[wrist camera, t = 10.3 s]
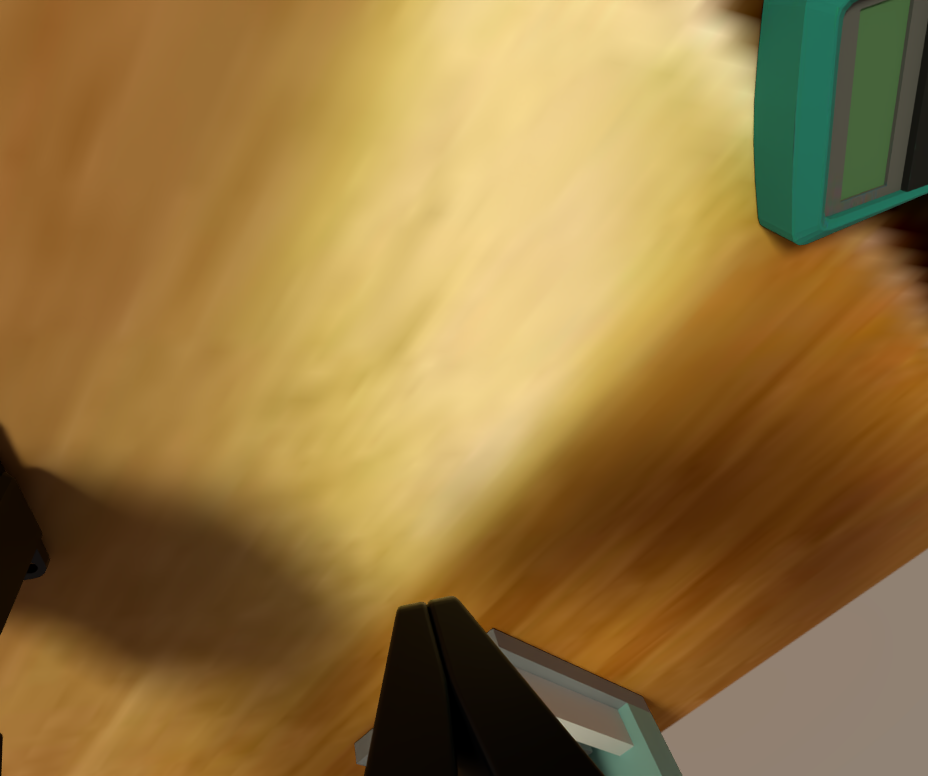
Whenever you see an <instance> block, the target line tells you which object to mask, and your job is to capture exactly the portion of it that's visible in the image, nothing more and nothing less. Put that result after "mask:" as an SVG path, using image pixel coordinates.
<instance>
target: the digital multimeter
mask: <svg viewBox="0 0 928 776" xmlns="http://www.w3.org/2000/svg"><path fill="white" fill-rule="evenodd" d="M754 160H755V182H756V194H757V207H758V218H759V222H760V224H761V225H762V226H764V227H765V228H767V229H769V230H771V231H773V232H775V233H776V234H778V235H780V236H782V237H784V238H786V239H788V240H790V241H792V242H794V243H796V244H798V245H805V244H808V243H811V242H813V241H815V240H818V239H820V238H822V237H825V236H827V235H830V234H832V233H834V232H837V231H839V230H841V229H844V228H846V227H848V226H851V225H853V224H856V223H858V222H860V221H863V220H865V219H867V218H870V217H872V216H874V215H877V214H879V213H882V212H884V211H886V210H889V209H891V208H893V207H896V206H898V205H900V204H903V203H905V202H908V201H910V200H912V199H915V198H917V197H920V196H922V195H925V194H927V193H928V0H764V4H763V13H762V22H761V32H760V41H759V51H758V62H757V75H756V88H755V103H754Z"/></svg>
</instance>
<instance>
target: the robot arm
mask: <svg viewBox="0 0 928 776" xmlns="http://www.w3.org/2000/svg"><path fill="white" fill-rule="evenodd" d="M41 537H42V531H41V529H40V527H39V525H38V523H37V521H36V519H35V518H34V516H33V514H32V512H31V510H30V508H29V506H28V504H27V502H26V500H25V498H24V496H23V494H22V492H21V490H20V488H19V486H18V484H17V482H16V480H15V478H14V477H12V476H11V475H10V474H9V473H7V472H6V471H5V469H4V467H3V465H2V463H1V461H0V635H1V633H2V630H3V628H4V625H5V623H6V621H7V618H8V616H9V613H10V611H11V609H12V606H13V604H14V602H15V599H16V597H17V594H18V592H19V590H20V587H21V585H22V582H23V580H27V579H33V578H37V577H40V576H42V575H43V574H44V573H45V571H46V569H47V567H48V564H49V561H50V558H49V555H48V553H47V551H46V549H45V547H44V545H43V543H42V541H41ZM30 563H33V564H30ZM2 741H3V736H2V734H1V733H0V776H1V769H2ZM364 776H605V775H604V774H603V773H602V772H601V771H600V769H599V768H598V767H597V766H596V765H595V763H594V762H593V761H592V760H591V759H590V757H589V756H588V755H587V754H586V753H585V751H584V750H583V749H582V748H581V747H580V745H579V744H578V743H577V742H576V740H575V739H574V738H573V737H572V736H571V734H570V733H569V732H568V731H567V730H566V728H565V727H564V726H563V725H562V724H561V722H560V721H559V720H558V719H557V718H556V716H555V715H554V714H553V713H552V712H551V710H550V709H549V708H548V707H547V705H546V704H545V703H544V702H543V701H542V699H541V698H540V697H539V696H538V695H537V693H536V692H535V691H534V690H533V689H532V687H531V686H530V685H529V684H528V683H527V681H526V680H525V679H524V678H523V677H522V675H521V674H520V673H519V672H518V670H517V669H516V668H515V667H514V666H513V664H512V663H511V662H510V661H509V660H508V658H507V657H506V656H505V655H504V654H503V652H502V651H501V650H500V649H499V648H498V646H497V645H496V644H495V643H494V642H493V640H492V639H491V638H490V637H489V635H488V634H487V633H486V632H485V631H484V629H483V628H482V627H481V626H480V625H479V623H478V622H477V621H476V620H475V619H474V617H473V616H472V615H471V614H470V613H469V611H468V610H467V609H466V608H465V607H464V605H463V604H462V603H461V602H460V601H459V600H458V599H457V598H456V597H454V596H449V597H444V598H439V599H433V600H430V601H429V602H428V604H427V605H426V604H425V603H424V602H418V603H413V604H408V605H403V606H400V607H399V608H398V610H397V612H396V617H395V622H394V627H393V632H392V637H391V642H390V647H389V652H388V657H387V663H386V668H385V673H384V678H383V683H382V688H381V693H380V698H379V703H378V708H377V713H376V718H375V723H374V728H373V733H372V738H371V743H370V748H369V753H368V758H367V764H366V769H365V774H364Z"/></svg>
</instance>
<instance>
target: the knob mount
mask: <svg viewBox="0 0 928 776" xmlns="http://www.w3.org/2000/svg"><path fill="white" fill-rule="evenodd" d="M487 634H488V635H489V637H490V638H491V639H492V640H493V642H494V643H495V644H496V645H497V646H498V648H499V649H500V650H501V651H502V652H503V654H504V655H505V656H506V657H507V658H508V660H509V661H510V662H511V663H512V664H513V666H514V667H515V668H516V669H517V670H518V672H519V673H520V674H521V675H522V677H523V678H524V679H525V680H526V681H527V683H528V684H529V685H530V686H531V687H532V689H533V690H534V691H535V692H536V693H537V695H538V696H539V697H540V698H541V699H542V701H543V702H544V703H545V704H546V705H547V707H548V708H549V709H550V710H551V712H552V713H553V714H554V715H555V716H556V718H557V719H558V720H559V721H560V722H561V724H562V725H563V726H564V727H565V728H566V730H567V731H568V732H569V733H570V734H571V736H572V737H573V738H574V739H575V740H576V741H578V742H581V743H584V744H587V745H589V746H591V749H592V751H593V752H592V753H591V754H589V755H588V756H589V757H590V759H591V760H592V761H593V762H594V763H595V765H596V766H597V767H598V768H599V769H600V771H601V772H602V773H603V774H604V775H605V776H682V774H681V772H680V770H679V768H678V766H677V764H676V762H675V760H674V758H673V756H672V754H671V752H670V750H669V748H668V746H667V744H666V742H665V740H664V738H663V736H662V734H661V732H660V730H659V728H658V726H657V724H656V722H655V720H654V718H653V716H652V714H651V712H650V710H649V708H648V706H647V704H646V702H645V701H644V699H643V697H642V696H640V695H638V694H636V693H633V692H631V691H629V690H627V689H625V688H622V687H620V686H618V685H616V684H614V683H611V682H609V681H607V680H605V679H603V678H600V677H598V676H596V675H594V674H592V673H590V672H587V671H585V670H583V669H581V668H579V667H576V666H574V665H572V664H570V663H568V662H565V661H563V660H561V659H559V658H557V657H554V656H552V655H550V654H548V653H546V652H543V651H541V650H539V649H537V648H535V647H533V646H530V645H528V644H526V643H524V642H522V641H519V640H517V639H515V638H513V637H511V636H508V635H506V634H504V633H502V632H500V631H497V630H495V629H492V630H490V631H489V632H488V633H487ZM372 733H373V729H372V730H370V731H369V732H368V733H367V734H366V735H364V736H363V737H362V738H361V739H360V740H358V741H357V742H356V743H355V753H356V763H357V764H360V765H364V766H366V764H367V758H368V753H369V748H370V743H371V738H372Z"/></svg>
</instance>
